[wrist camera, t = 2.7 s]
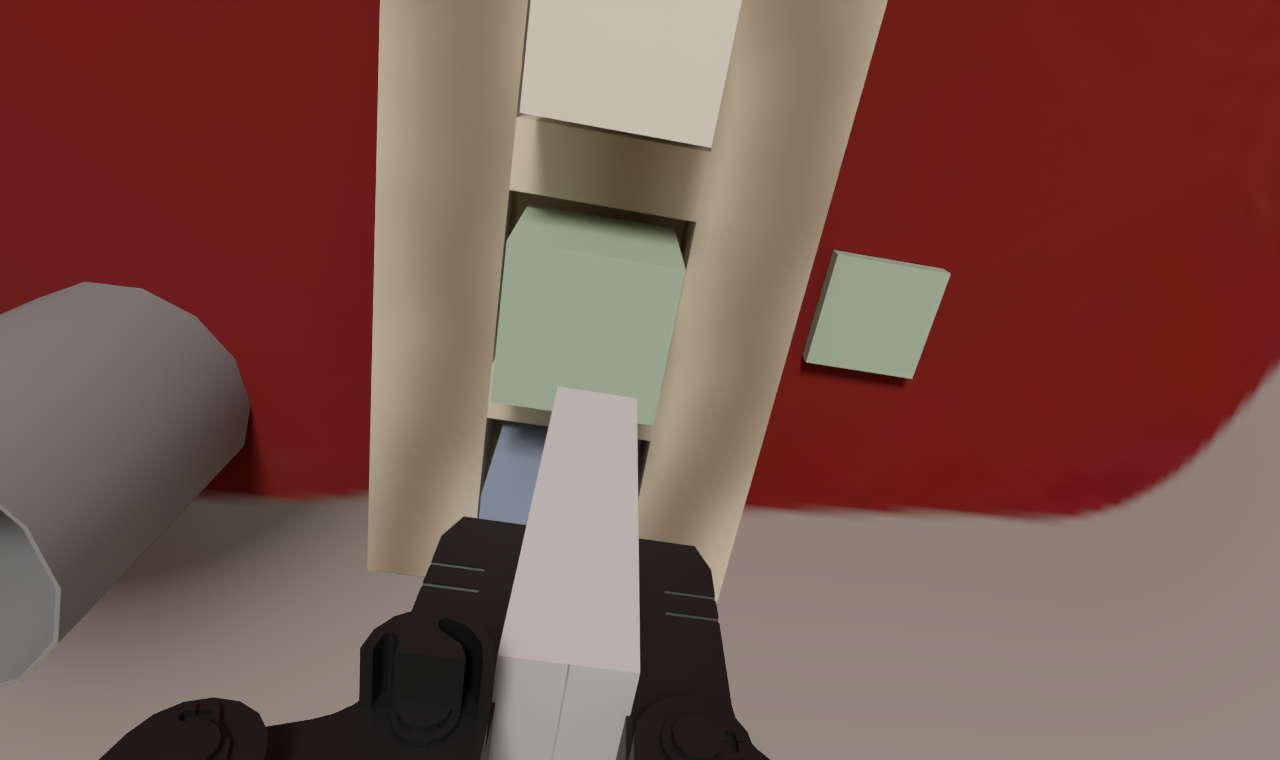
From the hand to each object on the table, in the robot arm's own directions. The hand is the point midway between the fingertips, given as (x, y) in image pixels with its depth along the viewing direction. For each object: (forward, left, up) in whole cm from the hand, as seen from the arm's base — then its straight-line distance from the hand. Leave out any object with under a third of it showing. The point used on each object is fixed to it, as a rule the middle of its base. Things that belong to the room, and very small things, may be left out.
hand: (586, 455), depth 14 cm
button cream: (0, +8, -10) cm, 13 cm away
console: (0, 0, -12) cm, 12 cm away
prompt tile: (+10, 0, -12) cm, 16 cm away
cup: (-16, -7, -12) cm, 22 cm away
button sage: (0, 0, -10) cm, 10 cm away
